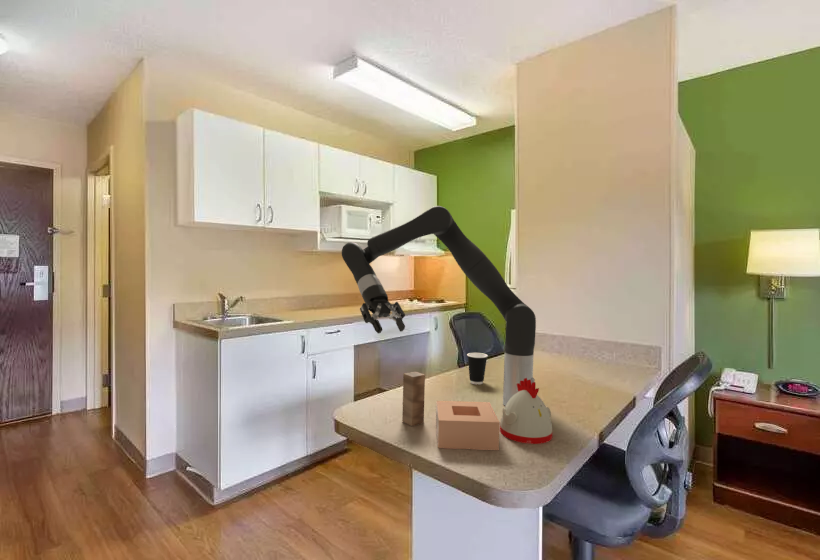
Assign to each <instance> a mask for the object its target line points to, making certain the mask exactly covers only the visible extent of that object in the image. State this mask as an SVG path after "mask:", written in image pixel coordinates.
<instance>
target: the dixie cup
mask: <svg viewBox="0 0 820 560" xmlns="http://www.w3.org/2000/svg"><path fill="white" fill-rule="evenodd" d="M466 356H467V363H468V375H469V377H468V378H469V381H470V382H469V383H470V384H473V385H477V384H478V385H482V384H484V381H485V374H486V366H487V360H488V356H489V355H488V354H486V353H482V352H469V353H467V354H466Z"/></svg>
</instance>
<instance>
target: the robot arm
mask: <svg viewBox="0 0 820 560" xmlns="http://www.w3.org/2000/svg"><path fill="white" fill-rule="evenodd" d="M429 235H434V236H435V237H436V238H438V240H439V241H441V243H442V244H443V245H444V246H445V247H446V248H447V250H448V251H449V252H450V254H451V255H452V257H453V258H454V260H455V262H456V263H457V266H459V268H460V269H461V270H462V272H463V273H464V275H465V276H466V277H467V278H468V280H469V281H470V282H471V283H472V284H473V285H474V286H475V288H477V289H478V290H479V291H480V292H481V293H483V295H485V297H487V298H488V300H489V301H491V302H492V303H493V304H494V306H495V307H496V308H497V310H498V311H499V313H500V314H501V315H502V317H503V319H504V320H505V341H504V356H503V357H504V358H503V359H504V363H503V364H504V365H503V385H502V386H503V390H502V391H503V393H502V404H503V406H504V407H505V406H506V404H507V402H508V401H509V400H510V398H511V397H512V396H513V395H515V394H516V393H517V392H518V388H517V384H518V383H520V381H523V382H524V378H527V381H528V380H531V385H532V382H535V378H534V354H535V353H534V351H535V345H536V327H537V323H536V322H537V320H536V319H537V318H536V314H535V312H534V311H533V309H532V308H530V307H529V306H528V305H527V304H526V303H524V302H523V301H522V300H521V299H520V298H519V296H517V295H516V294H515V292H513V291H512V289H511V288H510V287H509V285H508V284H507V282H506V281H505V279H504V277H503V276H502V275H501V273H500V271H499V270H498V269H497V267H496V266H495V265H494V263H493V262H492V261H491V260H490V258H489V257H487V255H486V254H485V253H484V252H483V251H482V250H481V249H480V248H479V247H478V246H477V245H476V244H475V243H474V242H473V241H471V240H470V239H469V237H467V236H466V235H465V234H464V232H463V231H462V230H461V228H460V227H459V225H458V223H456V220H455V219H454V218H453V215H452V214H451V212H450V211H449V209H447V208H446V207H445V206H444V207H443V206H441V205H434V206H432V207H430V208H429V209H427V210H426V211H424V212H422V213H421V214H419V215H418V216H416V217H414V218H413V219H411V220H409V221H406V222H405V223H403V224H401V225H398V226H396V227H394V228H391V229H389V230H387V231H384V232H381V233H379V234H377V235H375V236H372V237H370V238H369V239H367V242H366V243H367V247H365V248H362V247H361V246H360V245H359V244H358V243H356V242H352V241H350V242H347V243H345V244H344V245H343V246H342V248H341V257H342V259H343V262H344V263H345V264H346V266H347V268H348V269H349V271H350V272H351V274H352V276H353V278H354V281H355V283H356V285H357V287H358V291H359V293H360V295H361V297H362V299H363V301H364V302H363V303H362V305H361V306H360V308H359V311H360V313H361V316H362V318H363V322H365V324H368V323H370V324H371V325H372V327H373V329H374V332H375V333H377V334H381V333H382V332H383V327H382V325H381V322H380V320H378V318H379V319H380V318H388V319H389V320H393V321H394V322H395V324H396V326H397V328H398V330H399V332H403V331H404V330H405V328H406V325H405V323H404V321H403V319H404V318H405V317H406V313H405V312H404V311H403V308H402V307H401V305H400V304H399V302H398V301H395V302H394V303H390V301H389V297H388V294H387V292H386V290H385V288H384V286H383V284H382V282H381V281H380V279H379V278H378V276H377V274H376V272H375V270H374V268H373V266H371V264H372V263H373V262H374V261H376V260H377V259H378V258H379V257H381V256H384V255H386V254H388V253H391V252H394V251H395V250H397V249H399V248H401V247H403V246H405V245H407V244H408V243H409V242H410V243H411V242H412V241H414V240H416V239H418V238H422V237H425V236H429ZM371 313H372V314H371ZM535 383H536V382H535Z"/></svg>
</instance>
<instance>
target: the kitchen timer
mask: <svg viewBox="0 0 820 560" xmlns="http://www.w3.org/2000/svg"><path fill="white" fill-rule="evenodd" d="M517 388H518V392H517V393H516V394H515V395H513V396H512V397H511V398H510V400H509V401H508V402H507V404H506V406H505V405H504V408H502V415H501V418H500V421H499V422H500V425H499V433H500V434H501V436H503V437H505V438H507V439H509V440H511V441H513V442H514V441H515V442H516V443H517V442H518V443H522V444H531V445H533V444H535V445H536V444H537V445H538V444H544V443H545V444H546V443H548V442H550V441H551V440H553V424H552V420H551V416H552V412H551V409H550V407H549V406H547V405H546V404H545V403H544V400H542V398H541V397H540V396H539V395H538V393H539V390H540V388H537V387H536V382H532V385H531V380H528V381H527V378H524V382H523V381H520V383H518V384H517Z"/></svg>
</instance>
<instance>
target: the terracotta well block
mask: <svg viewBox="0 0 820 560" xmlns="http://www.w3.org/2000/svg"><path fill="white" fill-rule="evenodd" d="M435 405H436V406H435V408H436V409H435V429H436V430H435V431H436V440H437V442H436V443H437V449H451V450H453V449H455V450H477V451H478V450H481V451H485V450H486V451H488V450H489V451H499V449H500V422H501V421H500V420H499V418H498V416H497V415H496V413H495V411H494V408H493V406H492V404H491V402H489V401H462V400H461V401H459V400H436V402H435Z"/></svg>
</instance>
